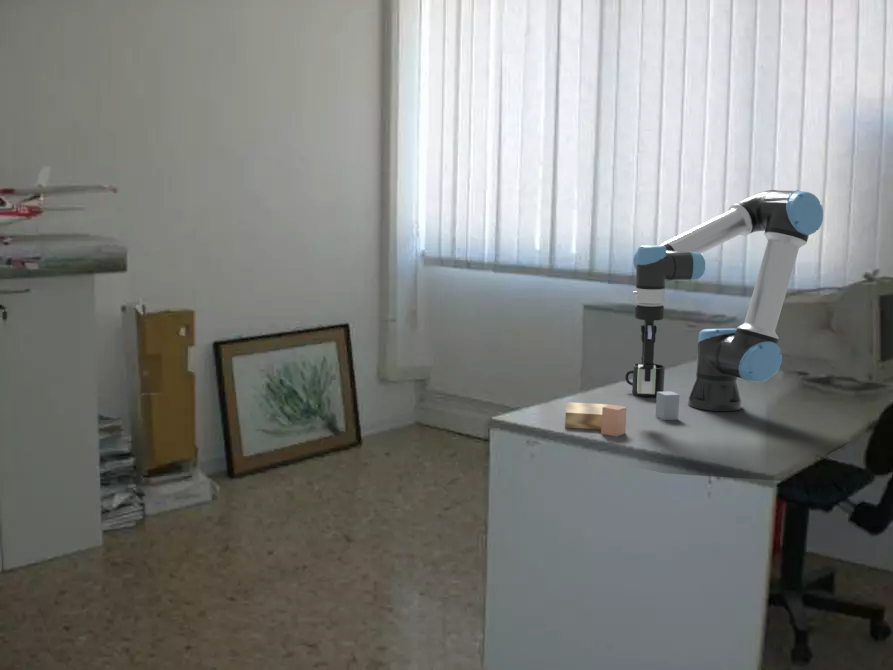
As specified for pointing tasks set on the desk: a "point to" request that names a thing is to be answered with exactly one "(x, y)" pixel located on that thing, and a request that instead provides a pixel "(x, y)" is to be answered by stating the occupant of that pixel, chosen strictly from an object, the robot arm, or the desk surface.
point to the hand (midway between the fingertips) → (646, 390)
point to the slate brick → (667, 405)
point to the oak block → (584, 415)
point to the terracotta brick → (613, 420)
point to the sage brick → (639, 380)
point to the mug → (658, 381)
